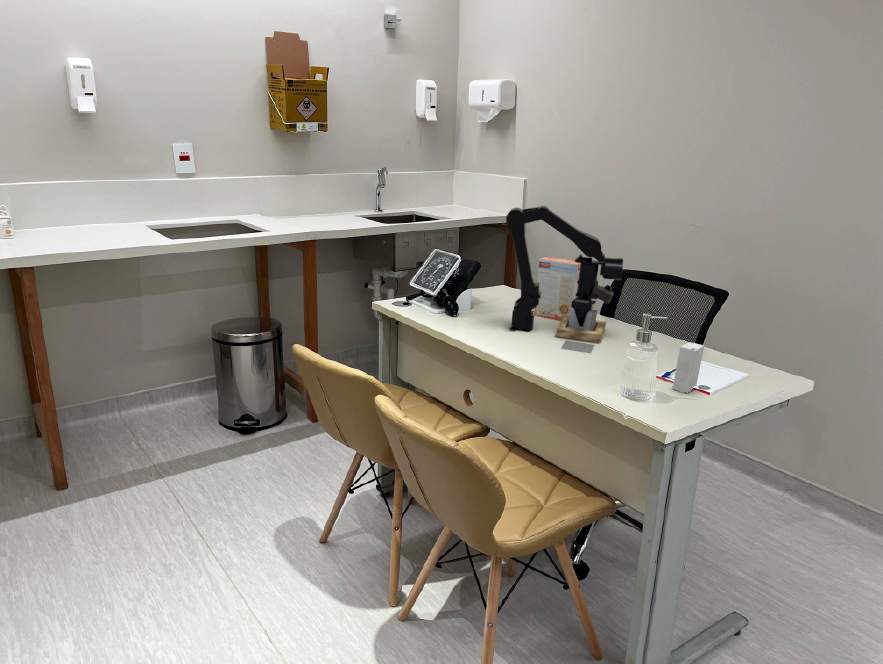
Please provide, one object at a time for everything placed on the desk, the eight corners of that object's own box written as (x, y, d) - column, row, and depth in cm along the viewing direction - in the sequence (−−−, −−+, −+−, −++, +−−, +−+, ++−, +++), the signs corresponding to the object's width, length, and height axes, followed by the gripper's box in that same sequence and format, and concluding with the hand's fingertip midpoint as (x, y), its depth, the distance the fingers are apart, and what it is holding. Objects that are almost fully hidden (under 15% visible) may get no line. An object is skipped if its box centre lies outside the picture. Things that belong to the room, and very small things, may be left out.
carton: (554, 338, 218) (556, 327, 217) (563, 325, 233) (564, 315, 232) (599, 345, 214) (601, 334, 213) (605, 331, 229) (606, 320, 228)
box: (568, 328, 222) (570, 310, 220) (570, 324, 226) (572, 307, 225) (593, 331, 220) (595, 313, 218) (595, 328, 224) (597, 310, 222)
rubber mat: (560, 349, 208) (560, 348, 208) (565, 341, 216) (565, 340, 216) (590, 354, 205) (591, 353, 205) (594, 346, 214) (594, 344, 213)
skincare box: (680, 384, 185) (687, 341, 182) (697, 388, 183) (704, 345, 179) (671, 389, 181) (678, 345, 177) (688, 394, 178) (696, 350, 175)
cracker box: (577, 320, 241) (584, 261, 234) (570, 324, 236) (577, 264, 229) (540, 313, 248) (546, 255, 241) (533, 316, 243) (539, 257, 237)
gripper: (611, 286, 207) (604, 335, 212) (616, 274, 224) (610, 321, 229) (573, 281, 211) (568, 330, 215) (582, 270, 228) (576, 316, 232)
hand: (582, 324), depth 223 cm, fingers closed on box, 4 cm apart
